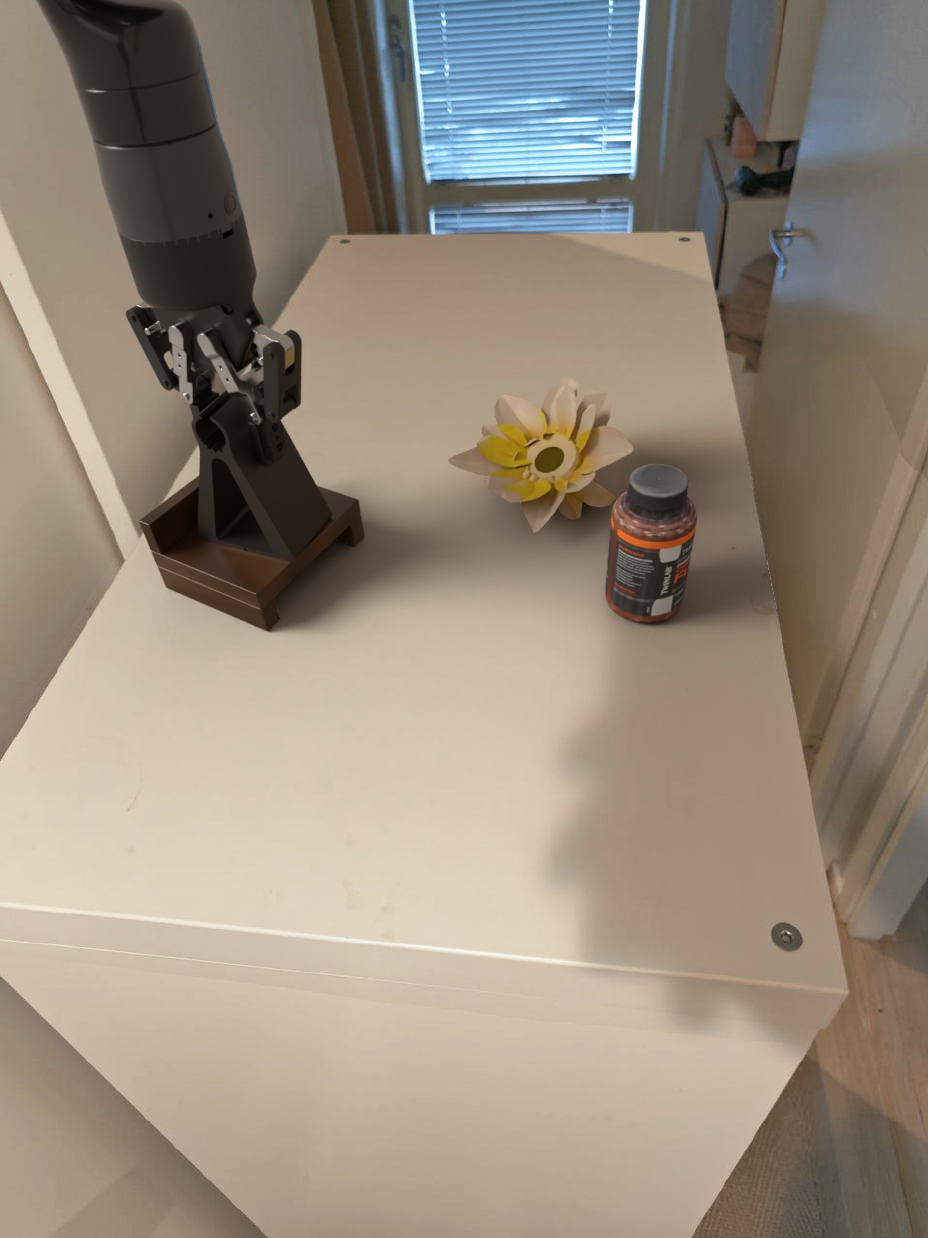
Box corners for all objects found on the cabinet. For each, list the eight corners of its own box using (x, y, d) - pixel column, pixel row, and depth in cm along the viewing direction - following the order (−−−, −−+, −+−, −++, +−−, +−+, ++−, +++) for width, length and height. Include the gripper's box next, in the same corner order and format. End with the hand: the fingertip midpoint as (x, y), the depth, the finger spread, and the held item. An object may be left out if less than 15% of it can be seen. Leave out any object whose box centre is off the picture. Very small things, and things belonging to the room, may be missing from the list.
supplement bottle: (683, 630, 63) (705, 508, 55) (602, 624, 64) (613, 503, 56) (681, 576, 67) (702, 456, 59) (605, 571, 68) (616, 452, 60)
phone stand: (198, 538, 68) (151, 405, 59) (240, 496, 71) (202, 365, 63) (294, 563, 65) (259, 427, 56) (333, 517, 69) (305, 383, 60)
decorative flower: (424, 458, 78) (443, 355, 71) (522, 442, 83) (548, 346, 77) (516, 554, 69) (546, 447, 63) (618, 529, 75) (656, 429, 68)
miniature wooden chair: (268, 632, 65) (246, 563, 60) (165, 587, 70) (138, 520, 65) (365, 536, 73) (353, 468, 68) (267, 502, 77) (249, 436, 72)
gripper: (49, 216, 52) (140, 453, 64) (225, 253, 46) (288, 505, 58) (140, 177, 56) (208, 405, 68) (310, 206, 50) (352, 449, 62)
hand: (245, 450), depth 63 cm, fingers open, 4 cm apart
